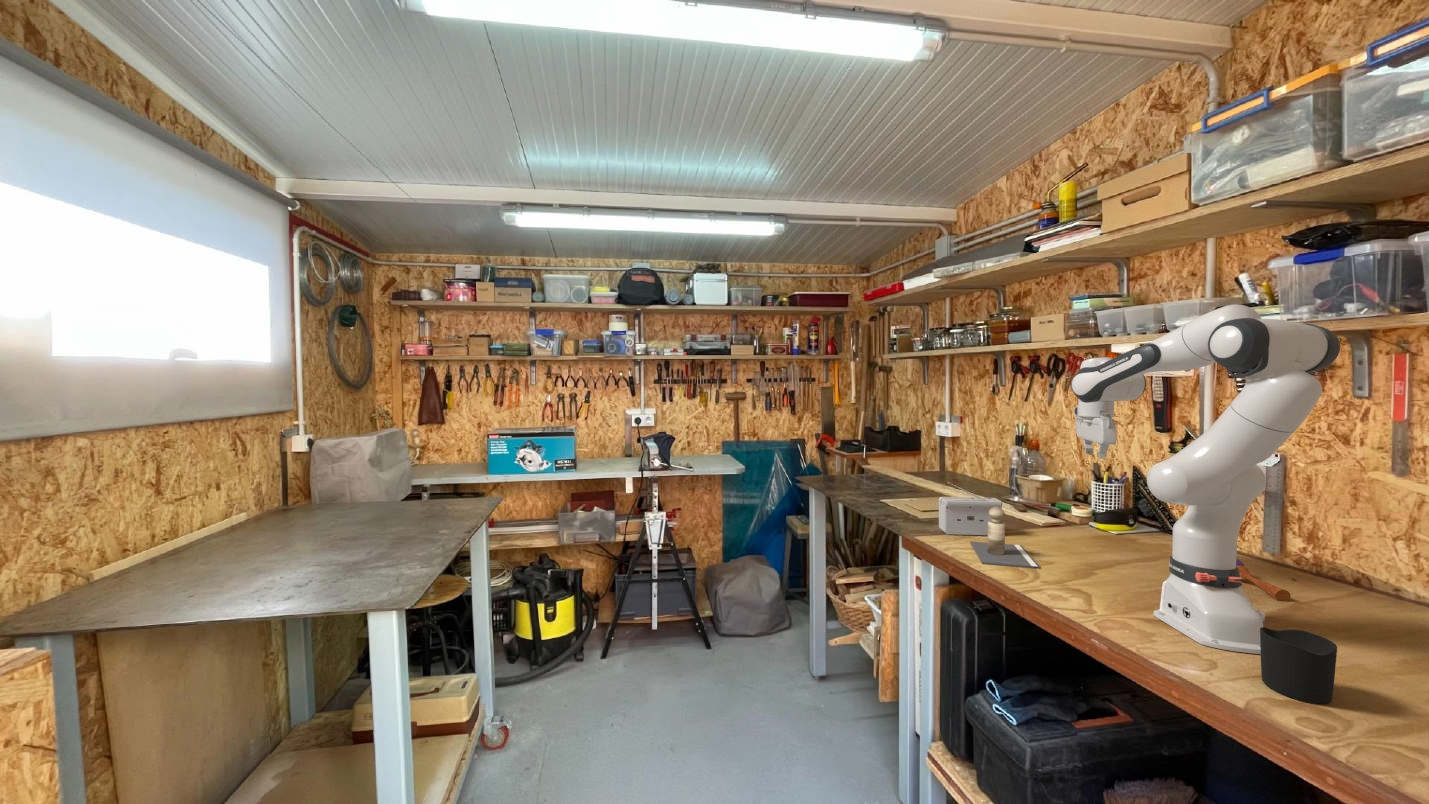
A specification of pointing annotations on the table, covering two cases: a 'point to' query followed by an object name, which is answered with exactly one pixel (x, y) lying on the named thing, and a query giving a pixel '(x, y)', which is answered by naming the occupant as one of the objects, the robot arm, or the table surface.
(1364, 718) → the table surface
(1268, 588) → the kendama
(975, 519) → the stereo radio cassette player
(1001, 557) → the mat
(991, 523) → the skittle
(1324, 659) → the pen holder
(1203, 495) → the robot arm
